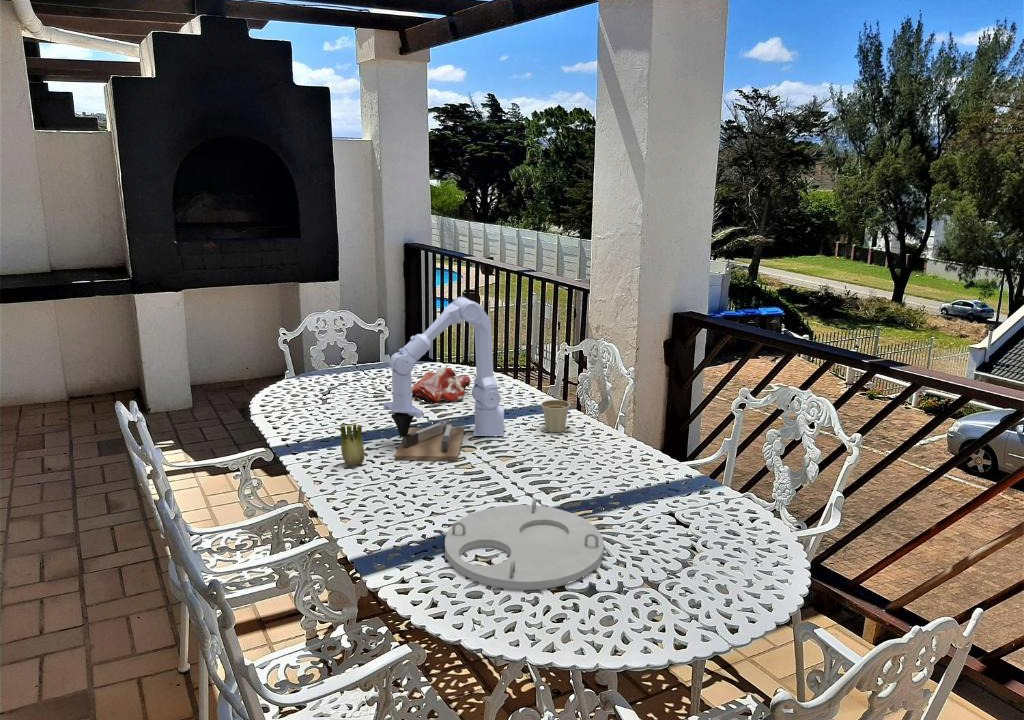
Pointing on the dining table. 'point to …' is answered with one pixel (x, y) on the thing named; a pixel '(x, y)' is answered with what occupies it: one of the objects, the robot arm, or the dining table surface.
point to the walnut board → (432, 447)
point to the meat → (440, 386)
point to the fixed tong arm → (446, 438)
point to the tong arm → (425, 433)
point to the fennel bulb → (352, 445)
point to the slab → (526, 546)
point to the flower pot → (555, 414)
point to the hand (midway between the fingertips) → (403, 435)
